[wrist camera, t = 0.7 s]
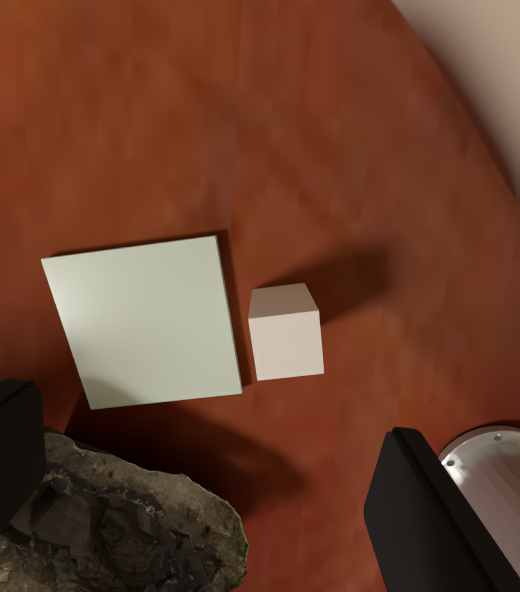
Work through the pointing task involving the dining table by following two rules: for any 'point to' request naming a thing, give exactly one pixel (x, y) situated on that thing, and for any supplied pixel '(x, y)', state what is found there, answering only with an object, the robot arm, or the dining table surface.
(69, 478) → the hollow geode rock
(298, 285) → the cream block
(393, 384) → the dining table surface
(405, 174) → the dining table surface
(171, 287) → the sage mat
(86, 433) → the dining table surface
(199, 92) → the dining table surface
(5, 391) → the robot arm
